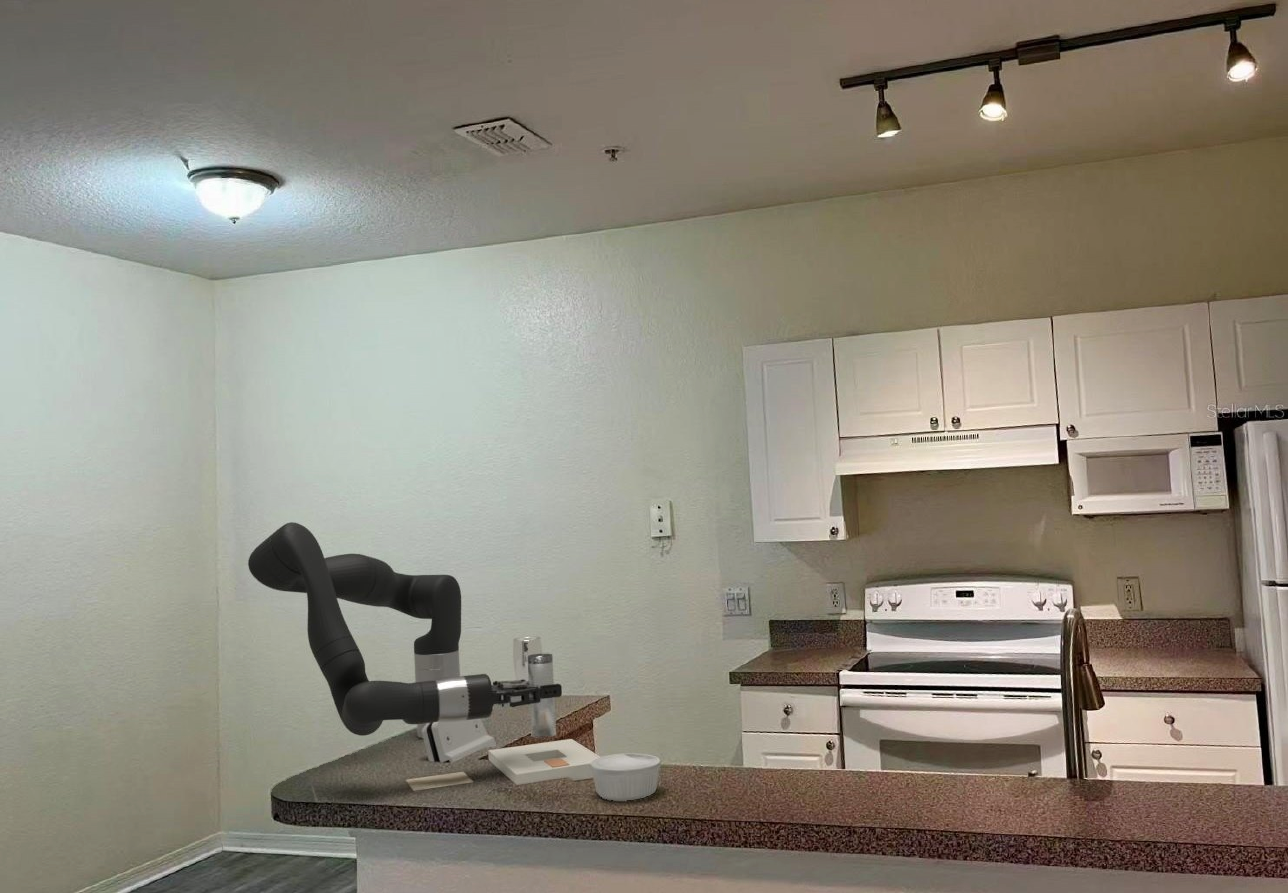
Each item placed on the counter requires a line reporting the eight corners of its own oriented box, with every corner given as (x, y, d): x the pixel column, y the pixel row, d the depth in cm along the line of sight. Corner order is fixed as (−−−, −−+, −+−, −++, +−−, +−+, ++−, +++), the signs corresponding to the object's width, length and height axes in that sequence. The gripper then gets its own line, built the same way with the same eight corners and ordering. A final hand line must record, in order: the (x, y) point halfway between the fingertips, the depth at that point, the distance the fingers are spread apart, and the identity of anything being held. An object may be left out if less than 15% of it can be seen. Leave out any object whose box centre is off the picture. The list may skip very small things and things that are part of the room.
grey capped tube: (528, 734, 193) (524, 655, 194) (552, 731, 194) (548, 652, 195) (534, 738, 189) (531, 658, 189) (559, 735, 190) (555, 655, 191)
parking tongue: (405, 784, 186) (405, 779, 186) (463, 776, 190) (463, 771, 190) (413, 795, 179) (413, 790, 179) (473, 786, 183) (473, 781, 183)
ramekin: (673, 788, 176) (672, 755, 176) (641, 806, 166) (639, 772, 166) (614, 782, 181) (612, 750, 182) (579, 800, 171) (577, 766, 172)
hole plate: (488, 764, 198) (488, 749, 198) (572, 752, 204) (571, 737, 204) (517, 789, 179) (516, 773, 179) (607, 775, 185) (606, 759, 185)
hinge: (453, 767, 197) (434, 714, 199) (432, 775, 199) (414, 723, 200) (497, 745, 213) (480, 697, 214) (478, 753, 214) (461, 705, 216)
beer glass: (528, 698, 262) (525, 636, 263) (550, 700, 258) (547, 637, 259) (509, 703, 257) (506, 640, 257) (531, 705, 253) (528, 641, 253)
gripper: (470, 682, 180) (568, 671, 187) (453, 671, 194) (545, 662, 200) (471, 727, 180) (570, 715, 186) (454, 713, 193) (546, 703, 200)
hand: (556, 688), depth 193 cm, fingers closed on grey capped tube, 4 cm apart
